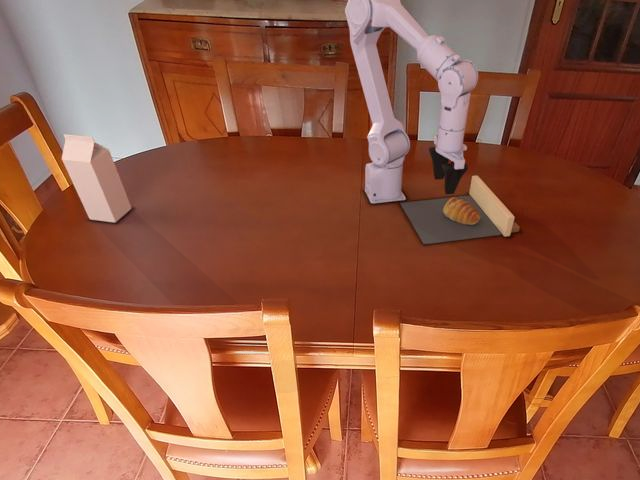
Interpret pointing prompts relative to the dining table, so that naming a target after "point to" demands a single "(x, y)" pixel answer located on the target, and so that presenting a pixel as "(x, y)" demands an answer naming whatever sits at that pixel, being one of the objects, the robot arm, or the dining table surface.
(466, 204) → the pastry
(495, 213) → the back board
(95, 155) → the milk carton
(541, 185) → the dining table surface
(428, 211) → the placemat
